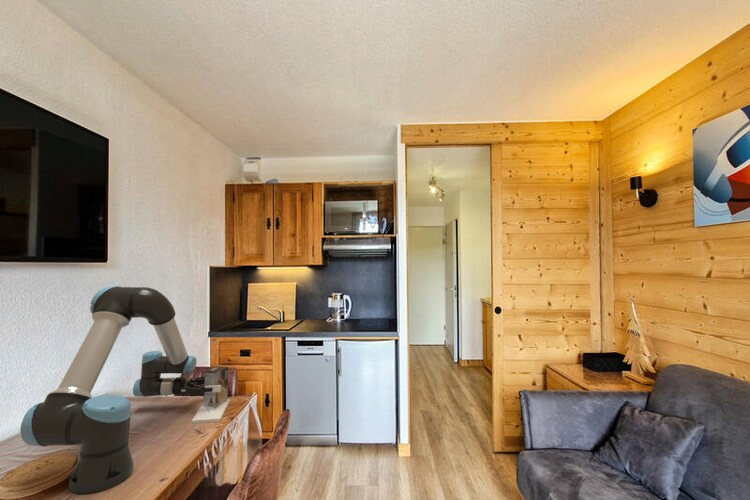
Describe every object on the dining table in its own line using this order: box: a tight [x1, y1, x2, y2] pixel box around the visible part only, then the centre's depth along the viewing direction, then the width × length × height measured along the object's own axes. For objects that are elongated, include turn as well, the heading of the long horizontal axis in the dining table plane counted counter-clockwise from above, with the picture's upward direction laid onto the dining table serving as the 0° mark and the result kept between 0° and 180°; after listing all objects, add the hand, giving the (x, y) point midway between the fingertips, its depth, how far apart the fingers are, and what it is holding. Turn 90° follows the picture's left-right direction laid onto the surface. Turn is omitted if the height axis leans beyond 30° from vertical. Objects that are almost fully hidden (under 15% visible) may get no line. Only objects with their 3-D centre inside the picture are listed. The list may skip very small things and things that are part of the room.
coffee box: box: [202, 365, 229, 408], centre depth 156 cm, size 9×6×16 cm
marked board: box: [191, 398, 231, 424], centre depth 150 cm, size 22×11×1 cm, turn 14°
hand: (224, 383), depth 157 cm, fingers open, 13 cm apart
